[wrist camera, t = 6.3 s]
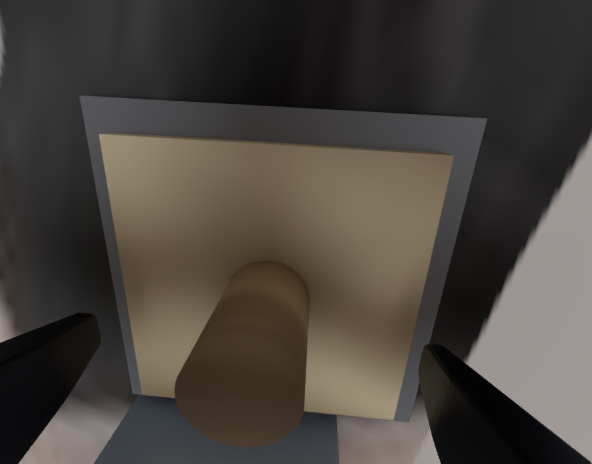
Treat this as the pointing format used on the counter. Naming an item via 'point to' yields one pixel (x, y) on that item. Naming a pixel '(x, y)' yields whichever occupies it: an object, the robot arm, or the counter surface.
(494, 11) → the counter surface
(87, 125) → the mat
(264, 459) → the dish
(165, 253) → the lid
